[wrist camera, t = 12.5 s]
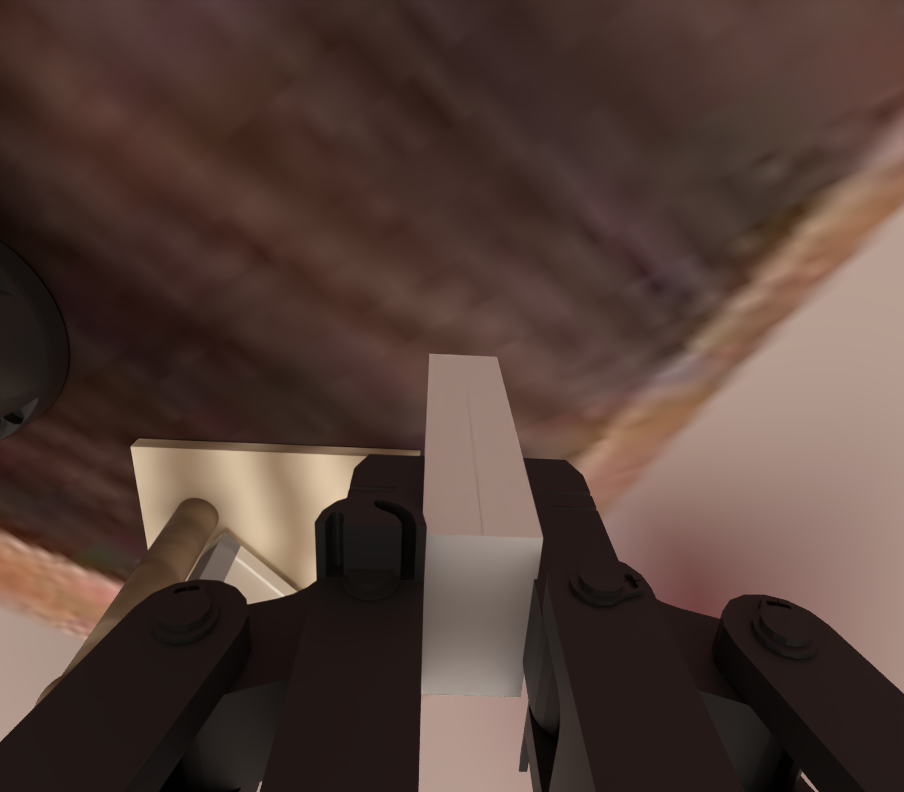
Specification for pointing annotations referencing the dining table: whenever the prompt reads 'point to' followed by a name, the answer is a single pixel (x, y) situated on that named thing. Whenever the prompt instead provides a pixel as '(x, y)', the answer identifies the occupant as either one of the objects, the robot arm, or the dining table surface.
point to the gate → (239, 571)
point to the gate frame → (228, 511)
